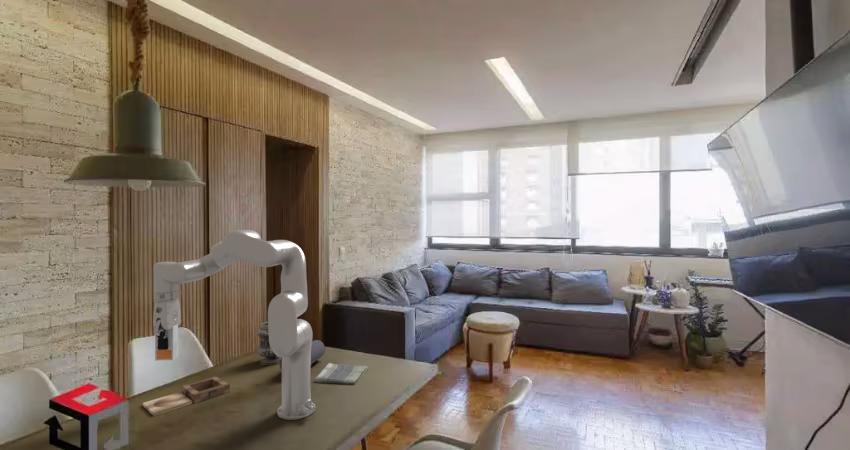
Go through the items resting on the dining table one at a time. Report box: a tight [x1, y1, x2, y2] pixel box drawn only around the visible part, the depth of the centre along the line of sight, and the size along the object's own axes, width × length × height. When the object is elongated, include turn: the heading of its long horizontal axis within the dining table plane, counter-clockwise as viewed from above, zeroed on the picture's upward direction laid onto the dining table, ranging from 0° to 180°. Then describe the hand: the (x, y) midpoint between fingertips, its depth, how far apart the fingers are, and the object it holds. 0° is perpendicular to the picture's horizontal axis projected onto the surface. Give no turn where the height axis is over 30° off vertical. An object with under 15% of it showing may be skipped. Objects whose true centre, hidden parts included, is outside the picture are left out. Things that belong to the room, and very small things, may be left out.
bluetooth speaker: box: [279, 339, 326, 371], centre depth 181 cm, size 23×9×10 cm, turn 162°
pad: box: [142, 391, 193, 417], centre depth 146 cm, size 12×12×1 cm
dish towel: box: [314, 362, 369, 386], centre depth 173 cm, size 19×18×3 cm
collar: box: [181, 376, 231, 404], centre depth 155 cm, size 13×13×3 cm
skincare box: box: [154, 324, 179, 361], centre depth 145 cm, size 6×4×12 cm
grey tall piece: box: [256, 321, 282, 366], centre depth 190 cm, size 12×12×18 cm
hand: (167, 346), depth 145 cm, fingers closed on skincare box, 4 cm apart
